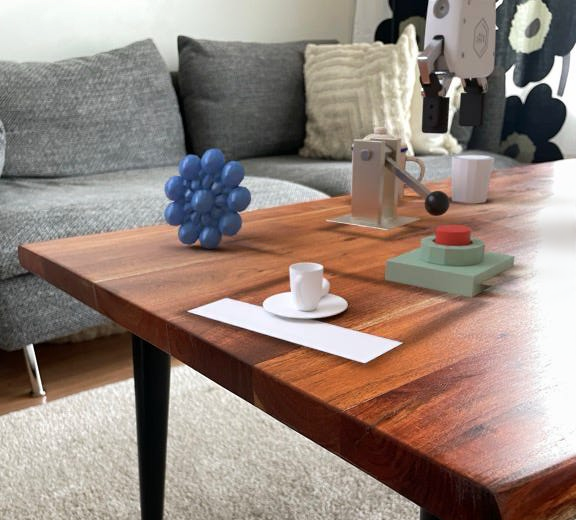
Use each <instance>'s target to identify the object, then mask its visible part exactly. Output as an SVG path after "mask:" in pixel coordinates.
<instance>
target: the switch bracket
mask: <svg viewBox="0 0 576 520" xmlns="http://www.w3.org/2000/svg"><path fill="white" fill-rule="evenodd" d="M362 139H363V138H362ZM362 139H360V138H356V139H353V143H352V144H353V170H352V169H351V179H352V196H351V201H350V203H351V204H350V213H346V214H343V215H338V216H336V217H332V218H329V219H326V220H325V221H326V222H333V223H339V224H345V225H350V226H358V227H365V228H369V229H370V228H372V229H378V230H385V231H390V230H393V229H396V228H398V227H402V226H405V225H408V224H411V223H414V222H417V221H421V220H422V218H419V217H412V216H406V215H405V216H404V215H398V201H399V200H398V199H399V198H398V186H399V178H398V177H397V176H395V175H394V174H393V173H392V172H391V171H389V170H388V169H387V168H386V167H385V166H384V164H385V145H386V146H387V147H388V148H390V149H391V150H392V153H391V155H390V158H391V159H392V160H394V161H395V162H396V163H397V164H398V165H400V152H401V142H402V139H401V138H398V137H397V138H396V137H395V138H383V137H370V140H362ZM375 139H379V140H380V141H376V140H375Z"/></svg>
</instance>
